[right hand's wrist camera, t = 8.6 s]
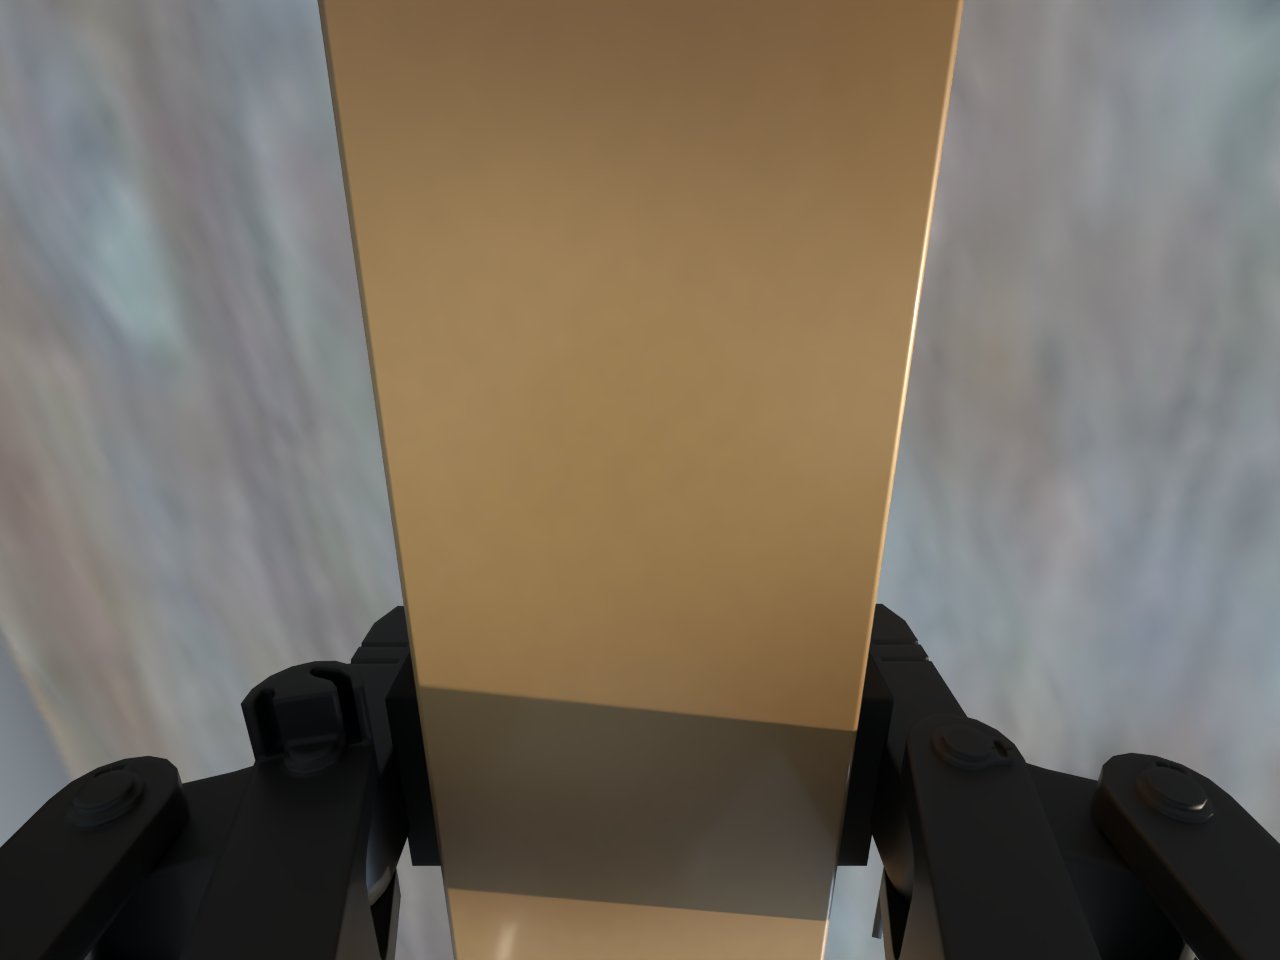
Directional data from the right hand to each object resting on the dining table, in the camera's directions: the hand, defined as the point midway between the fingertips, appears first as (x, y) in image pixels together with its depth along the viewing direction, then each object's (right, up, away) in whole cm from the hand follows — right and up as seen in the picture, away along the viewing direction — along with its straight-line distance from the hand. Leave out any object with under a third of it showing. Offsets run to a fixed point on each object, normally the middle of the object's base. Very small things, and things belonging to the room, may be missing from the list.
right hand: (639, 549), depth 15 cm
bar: (0, +8, -3) cm, 9 cm away
